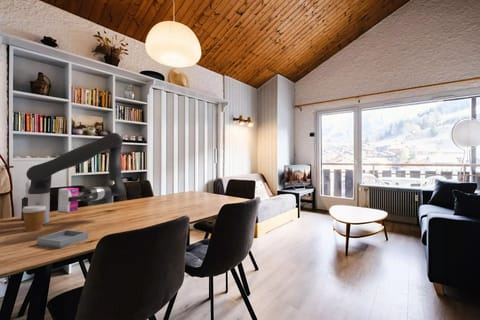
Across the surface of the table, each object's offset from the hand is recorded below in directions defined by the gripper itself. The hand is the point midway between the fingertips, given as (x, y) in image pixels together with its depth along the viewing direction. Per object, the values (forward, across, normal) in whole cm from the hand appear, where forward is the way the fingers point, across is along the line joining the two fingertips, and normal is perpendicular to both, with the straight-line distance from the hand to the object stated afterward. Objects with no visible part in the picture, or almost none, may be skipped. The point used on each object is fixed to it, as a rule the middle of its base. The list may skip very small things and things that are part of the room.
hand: (63, 199), depth 111 cm
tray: (+6, +8, +18) cm, 20 cm away
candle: (-16, -46, +18) cm, 51 cm away
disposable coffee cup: (-2, -22, +18) cm, 28 cm away
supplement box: (-2, 0, +7) cm, 7 cm away
